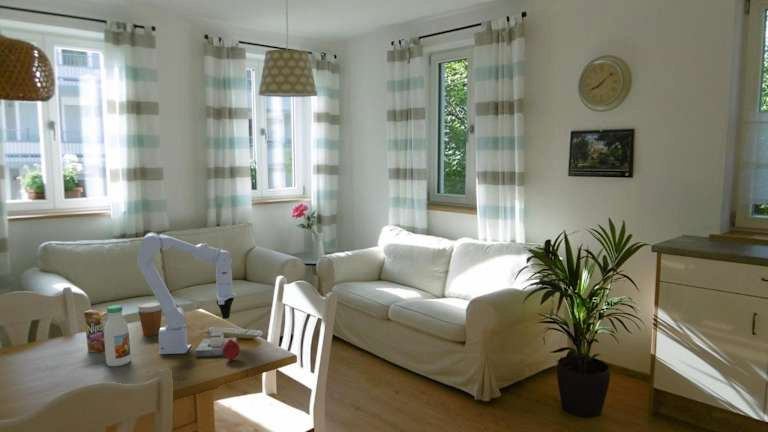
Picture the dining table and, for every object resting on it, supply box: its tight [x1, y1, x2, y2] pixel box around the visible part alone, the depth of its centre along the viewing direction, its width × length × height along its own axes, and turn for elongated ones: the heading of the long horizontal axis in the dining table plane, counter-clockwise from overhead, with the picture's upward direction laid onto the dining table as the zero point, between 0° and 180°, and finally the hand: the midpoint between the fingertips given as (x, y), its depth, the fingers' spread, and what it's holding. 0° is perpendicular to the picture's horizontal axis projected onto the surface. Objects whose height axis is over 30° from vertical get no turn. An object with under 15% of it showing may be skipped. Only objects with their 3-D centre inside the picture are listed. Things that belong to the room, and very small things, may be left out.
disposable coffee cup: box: [136, 300, 163, 337], centre depth 223 cm, size 10×10×12 cm
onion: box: [222, 337, 241, 362], centre depth 193 cm, size 6×6×8 cm
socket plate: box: [194, 337, 237, 358], centre depth 203 cm, size 12×12×2 cm
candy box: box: [83, 308, 108, 355], centre depth 203 cm, size 9×4×15 cm, turn 69°
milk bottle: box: [104, 304, 132, 367], centre depth 192 cm, size 8×8×20 cm
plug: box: [209, 331, 224, 347], centre depth 203 cm, size 4×4×6 cm
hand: (226, 318), depth 209 cm, fingers closed
